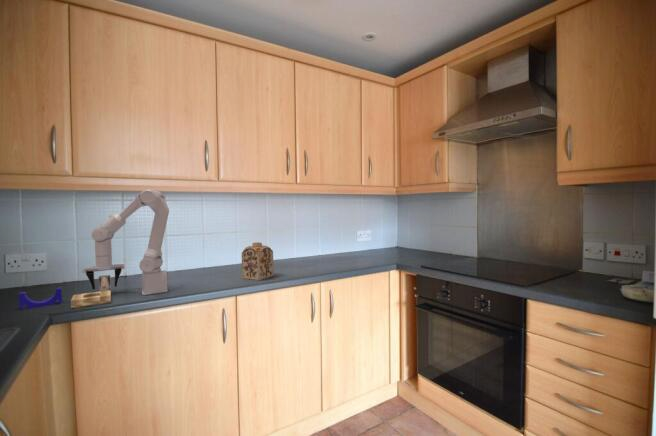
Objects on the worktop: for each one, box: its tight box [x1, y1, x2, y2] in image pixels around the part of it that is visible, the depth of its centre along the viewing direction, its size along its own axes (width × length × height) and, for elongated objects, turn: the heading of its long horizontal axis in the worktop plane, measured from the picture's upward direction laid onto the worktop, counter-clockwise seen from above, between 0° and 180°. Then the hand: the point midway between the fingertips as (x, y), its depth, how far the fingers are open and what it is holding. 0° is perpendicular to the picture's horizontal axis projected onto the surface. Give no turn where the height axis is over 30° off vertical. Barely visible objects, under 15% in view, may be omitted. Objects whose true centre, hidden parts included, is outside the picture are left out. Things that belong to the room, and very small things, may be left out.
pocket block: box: [70, 290, 112, 310], centre depth 127 cm, size 12×10×3 cm
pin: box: [98, 274, 112, 292], centre depth 139 cm, size 4×4×8 cm
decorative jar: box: [241, 241, 275, 281], centre depth 168 cm, size 12×12×18 cm
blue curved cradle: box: [18, 286, 63, 310], centre depth 125 cm, size 12×4×6 cm, turn 127°
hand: (104, 287), depth 139 cm, fingers open, 7 cm apart
